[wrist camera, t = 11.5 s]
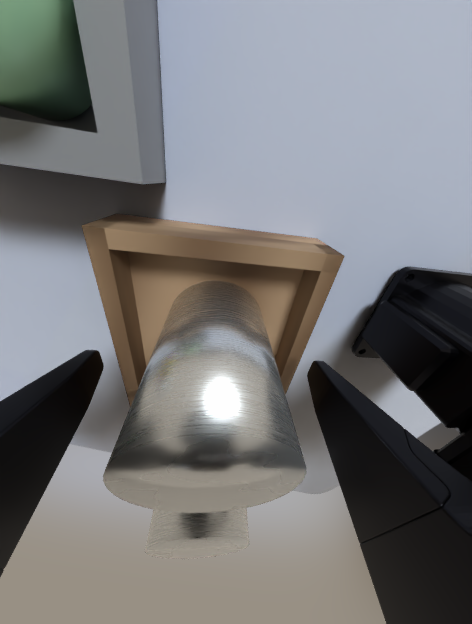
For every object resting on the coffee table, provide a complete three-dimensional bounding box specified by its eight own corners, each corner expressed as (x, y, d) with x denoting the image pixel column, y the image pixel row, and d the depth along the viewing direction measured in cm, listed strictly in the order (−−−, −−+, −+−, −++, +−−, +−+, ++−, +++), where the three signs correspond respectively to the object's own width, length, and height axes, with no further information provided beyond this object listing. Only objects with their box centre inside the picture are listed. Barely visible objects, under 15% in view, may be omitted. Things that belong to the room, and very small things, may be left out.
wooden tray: (317, 238, 10) (344, 255, 8) (253, 427, 20) (257, 459, 18) (116, 213, 9) (81, 225, 7) (154, 427, 19) (145, 461, 16)
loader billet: (243, 393, 15) (257, 534, 9) (234, 428, 17) (241, 554, 12) (172, 391, 14) (138, 541, 8) (175, 428, 17) (150, 561, 11)
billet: (270, 285, 10) (339, 436, 4) (253, 357, 13) (279, 509, 7) (166, 275, 9) (74, 434, 4) (171, 353, 12) (123, 515, 6)
